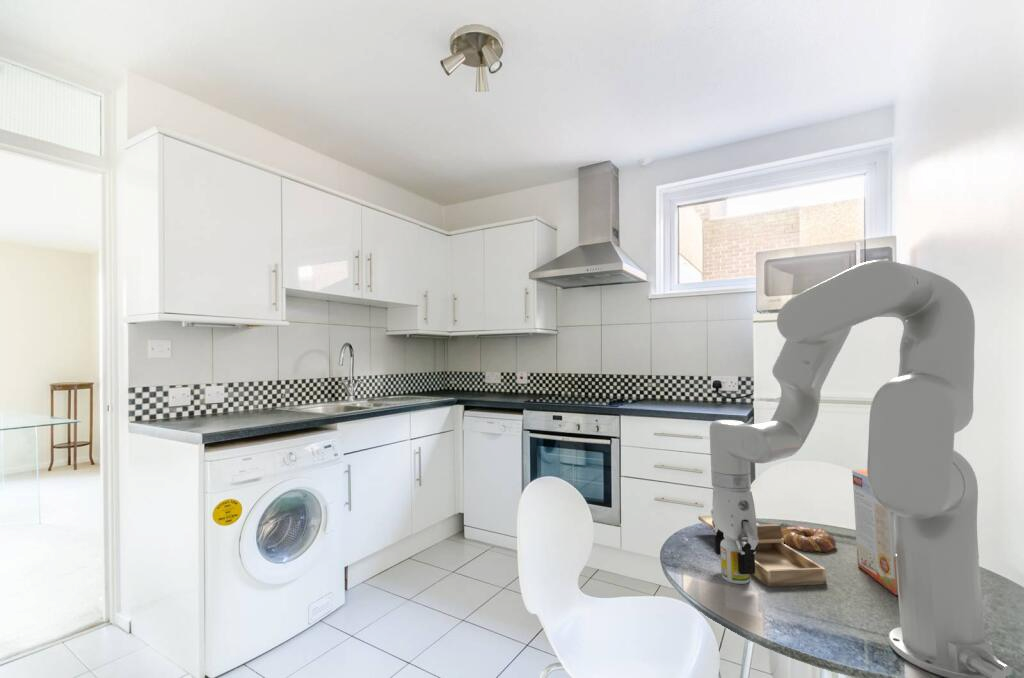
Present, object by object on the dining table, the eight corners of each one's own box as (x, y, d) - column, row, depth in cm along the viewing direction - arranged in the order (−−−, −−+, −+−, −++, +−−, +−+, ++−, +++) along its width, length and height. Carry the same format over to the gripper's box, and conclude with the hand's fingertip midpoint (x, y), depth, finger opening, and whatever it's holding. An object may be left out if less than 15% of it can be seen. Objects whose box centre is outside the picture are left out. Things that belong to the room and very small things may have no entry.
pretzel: (775, 547, 115) (774, 532, 115) (782, 534, 124) (781, 519, 124) (835, 558, 108) (833, 541, 108) (837, 543, 116) (836, 528, 117)
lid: (784, 542, 109) (783, 525, 109) (733, 544, 108) (732, 527, 108) (742, 517, 126) (741, 503, 127) (698, 519, 126) (697, 504, 126)
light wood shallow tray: (826, 584, 95) (825, 568, 95) (768, 586, 94) (767, 571, 95) (773, 549, 113) (772, 536, 113) (724, 551, 112) (723, 538, 112)
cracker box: (931, 599, 88) (923, 485, 89) (894, 596, 89) (887, 484, 90) (888, 567, 102) (881, 469, 103) (856, 565, 103) (850, 468, 104)
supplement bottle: (716, 578, 99) (714, 531, 99) (729, 570, 102) (727, 525, 102) (743, 587, 94) (740, 538, 95) (755, 579, 98) (752, 531, 98)
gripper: (772, 490, 91) (776, 581, 90) (727, 470, 108) (730, 546, 107) (734, 491, 91) (738, 583, 90) (695, 471, 108) (698, 547, 107)
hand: (734, 563), depth 98 cm, fingers open, 9 cm apart
